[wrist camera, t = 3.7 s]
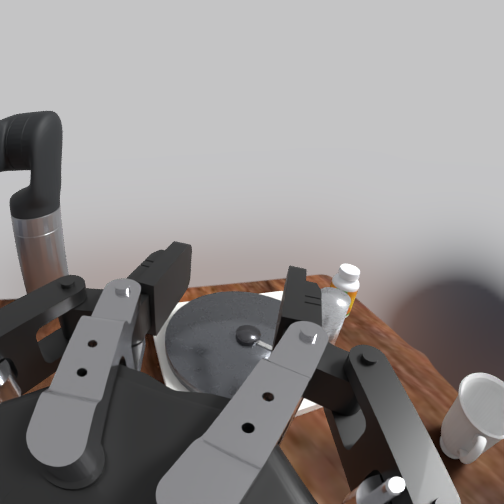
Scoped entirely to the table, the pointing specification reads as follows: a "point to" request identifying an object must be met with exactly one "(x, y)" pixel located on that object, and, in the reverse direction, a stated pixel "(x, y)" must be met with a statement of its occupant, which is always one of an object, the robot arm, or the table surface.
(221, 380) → the dial
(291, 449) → the table surface
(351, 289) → the supplement bottle
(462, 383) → the teacup
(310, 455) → the table surface
